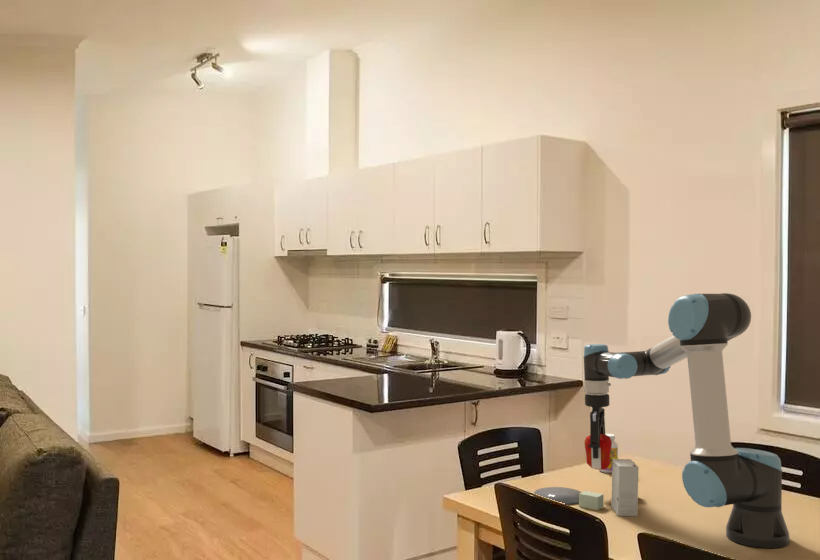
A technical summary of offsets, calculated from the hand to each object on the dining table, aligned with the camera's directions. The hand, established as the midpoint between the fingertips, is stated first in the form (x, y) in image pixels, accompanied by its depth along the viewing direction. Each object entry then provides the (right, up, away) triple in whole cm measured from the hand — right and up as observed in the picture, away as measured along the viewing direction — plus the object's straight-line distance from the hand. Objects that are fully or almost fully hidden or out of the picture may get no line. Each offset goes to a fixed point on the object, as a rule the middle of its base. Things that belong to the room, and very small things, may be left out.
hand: (598, 465), depth 243 cm
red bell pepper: (0, -1, 0) cm, 1 cm away
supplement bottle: (+11, -9, +30) cm, 33 cm away
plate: (-13, -10, -2) cm, 16 cm away
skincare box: (+4, -10, -17) cm, 20 cm away
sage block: (-5, -10, -11) cm, 16 cm away
